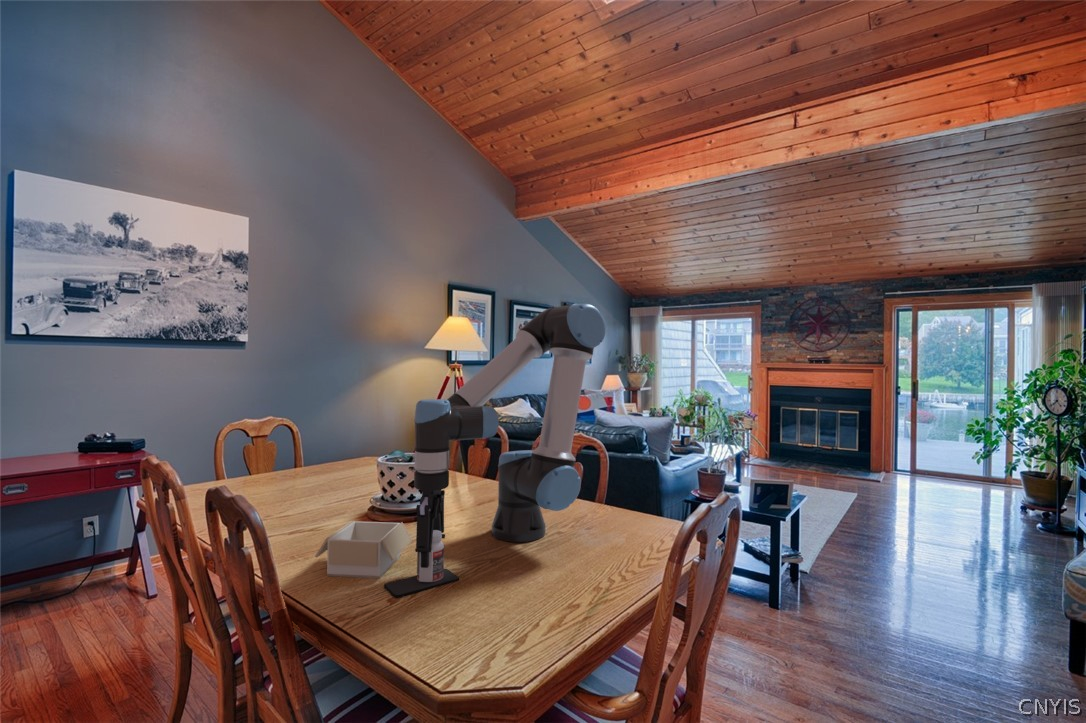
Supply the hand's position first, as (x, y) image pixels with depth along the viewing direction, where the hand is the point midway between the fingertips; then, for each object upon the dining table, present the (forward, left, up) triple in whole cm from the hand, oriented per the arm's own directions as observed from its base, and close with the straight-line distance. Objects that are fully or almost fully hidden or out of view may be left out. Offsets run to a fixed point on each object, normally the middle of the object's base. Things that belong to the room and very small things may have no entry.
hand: (430, 574), depth 108 cm
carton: (+17, -5, -1) cm, 18 cm away
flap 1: (+23, -5, +8) cm, 25 cm away
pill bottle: (0, 0, -1) cm, 1 cm away
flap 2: (+11, -5, +8) cm, 14 cm away
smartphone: (+1, +2, -1) cm, 3 cm away
